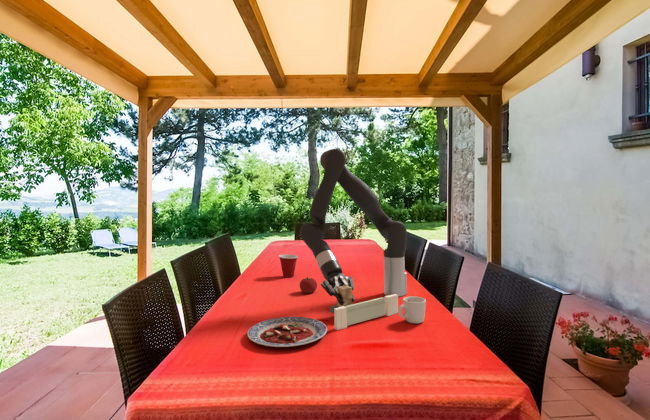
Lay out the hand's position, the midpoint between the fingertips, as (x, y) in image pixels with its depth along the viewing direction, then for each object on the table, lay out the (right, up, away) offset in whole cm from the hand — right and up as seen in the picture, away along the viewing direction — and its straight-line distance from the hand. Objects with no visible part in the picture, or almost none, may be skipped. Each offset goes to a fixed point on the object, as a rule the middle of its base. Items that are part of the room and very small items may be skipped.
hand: (347, 302), depth 136 cm
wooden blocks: (+8, -6, -1) cm, 10 cm away
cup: (+22, -6, -4) cm, 23 cm away
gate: (+6, -6, -3) cm, 9 cm away
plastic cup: (-29, -4, +72) cm, 78 cm away
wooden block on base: (-1, -4, +2) cm, 5 cm away
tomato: (-16, -5, +38) cm, 42 cm away
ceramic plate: (-21, -8, -14) cm, 26 cm away
